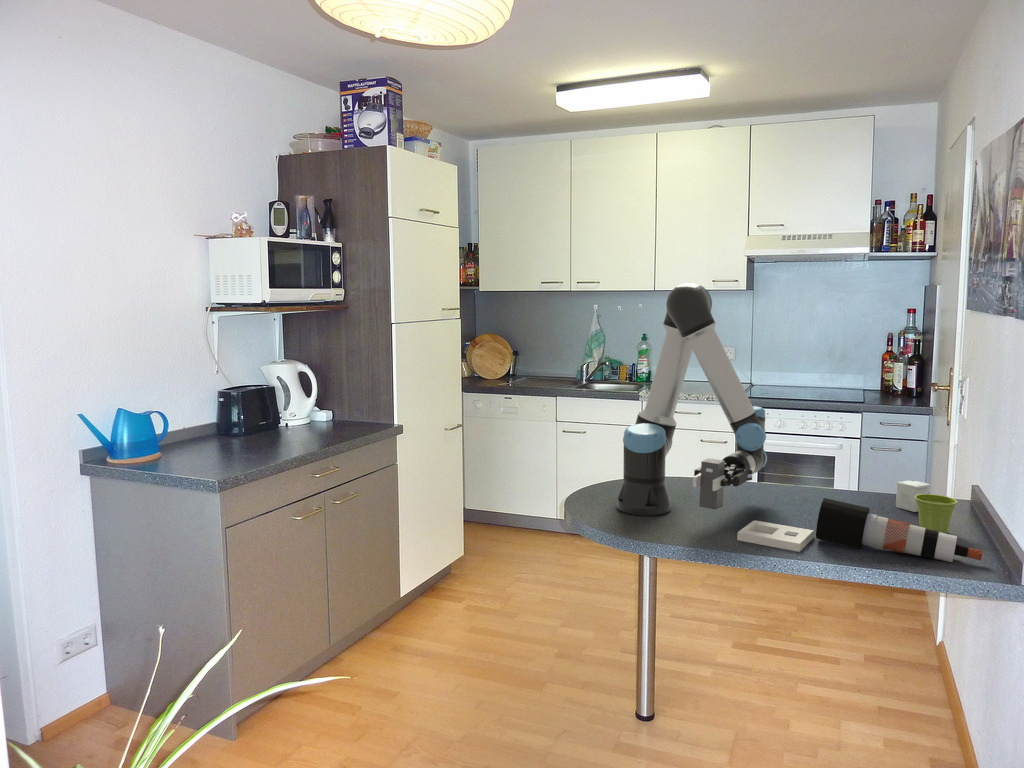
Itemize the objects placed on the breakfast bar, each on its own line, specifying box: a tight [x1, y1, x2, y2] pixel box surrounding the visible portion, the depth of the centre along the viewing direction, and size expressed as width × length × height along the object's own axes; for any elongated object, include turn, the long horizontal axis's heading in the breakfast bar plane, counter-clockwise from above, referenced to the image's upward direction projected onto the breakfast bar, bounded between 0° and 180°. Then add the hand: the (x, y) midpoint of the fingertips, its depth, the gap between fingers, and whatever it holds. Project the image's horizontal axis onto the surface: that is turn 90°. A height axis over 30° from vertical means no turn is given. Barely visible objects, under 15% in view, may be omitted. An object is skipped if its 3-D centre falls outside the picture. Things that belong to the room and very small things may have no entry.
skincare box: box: [895, 479, 931, 513], centre depth 213 cm, size 6×6×7 cm
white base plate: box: [736, 519, 815, 553], centre depth 189 cm, size 15×12×2 cm
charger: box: [698, 458, 725, 511], centre depth 197 cm, size 4×5×12 cm
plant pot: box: [915, 493, 958, 534], centre depth 193 cm, size 9×9×9 cm
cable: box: [815, 497, 983, 563], centre depth 178 cm, size 10×34×10 cm, turn 59°
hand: (704, 483), depth 193 cm, fingers closed on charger, 4 cm apart
